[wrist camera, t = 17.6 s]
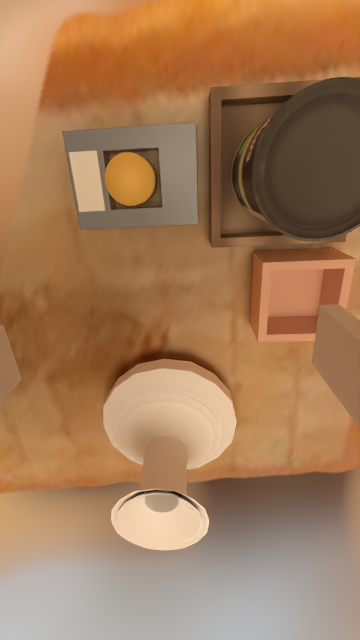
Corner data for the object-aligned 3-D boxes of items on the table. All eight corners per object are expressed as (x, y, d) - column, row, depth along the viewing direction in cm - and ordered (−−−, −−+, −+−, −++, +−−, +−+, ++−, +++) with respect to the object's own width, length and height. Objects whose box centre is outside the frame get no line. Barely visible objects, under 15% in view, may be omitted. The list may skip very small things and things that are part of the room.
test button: (117, 204, 36) (108, 206, 32) (110, 156, 34) (101, 153, 30) (158, 202, 36) (155, 204, 32) (155, 153, 33) (151, 150, 30)
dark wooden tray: (209, 241, 38) (211, 247, 35) (208, 98, 32) (210, 87, 28) (330, 235, 38) (345, 241, 34) (353, 88, 31) (374, 76, 28)
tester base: (86, 226, 38) (78, 230, 35) (70, 134, 34) (60, 130, 31) (197, 221, 37) (198, 224, 35) (195, 126, 33) (195, 121, 30)
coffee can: (211, 169, 34) (223, 162, 21) (288, 94, 31) (357, 32, 18) (265, 238, 37) (304, 269, 24) (340, 176, 34) (431, 172, 21)
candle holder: (207, 457, 54) (215, 588, 37) (99, 428, 52) (53, 552, 35) (252, 369, 46) (289, 484, 29) (126, 331, 44) (84, 430, 27)
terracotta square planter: (249, 321, 43) (257, 342, 37) (252, 251, 39) (262, 262, 33) (321, 319, 42) (340, 340, 37) (332, 247, 38) (356, 258, 33)
